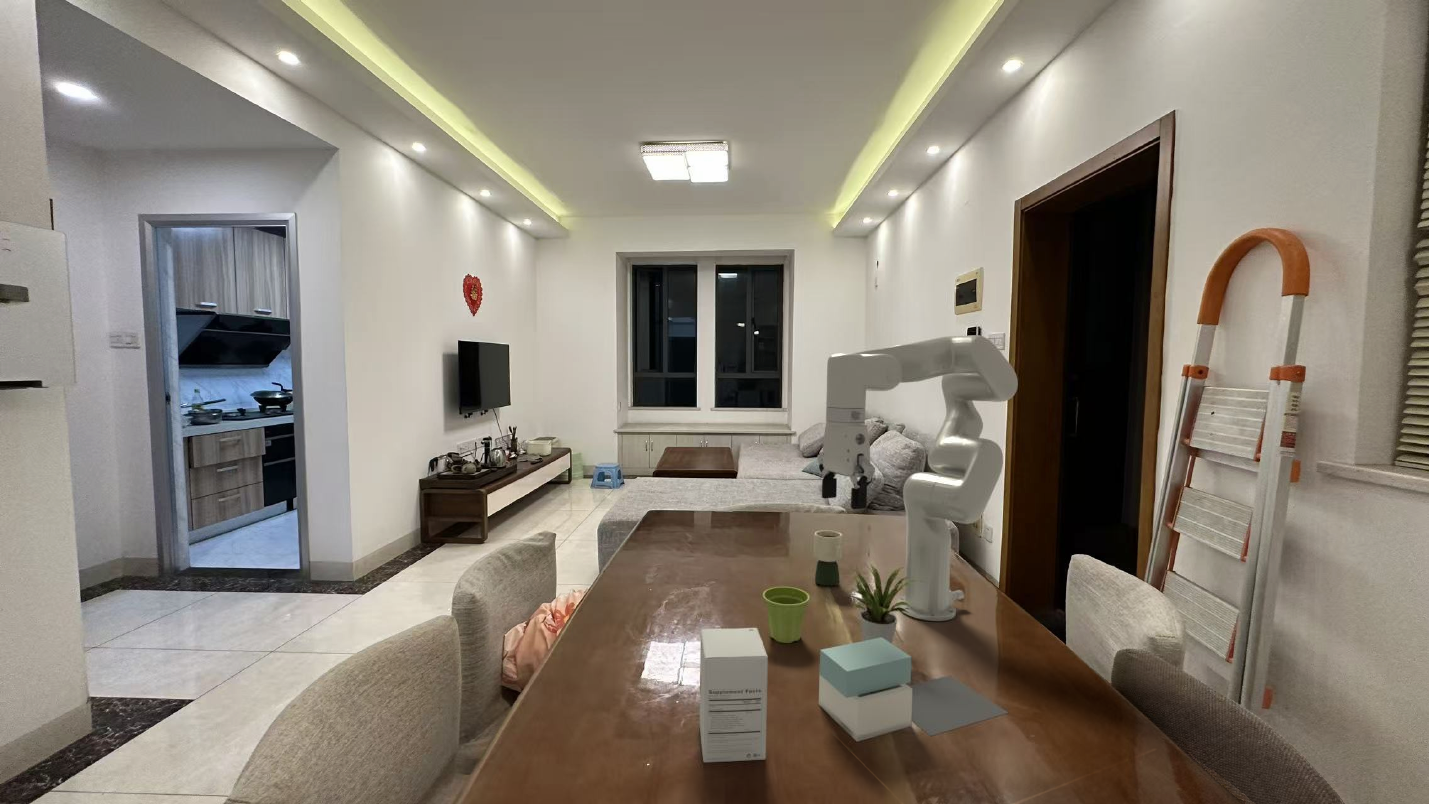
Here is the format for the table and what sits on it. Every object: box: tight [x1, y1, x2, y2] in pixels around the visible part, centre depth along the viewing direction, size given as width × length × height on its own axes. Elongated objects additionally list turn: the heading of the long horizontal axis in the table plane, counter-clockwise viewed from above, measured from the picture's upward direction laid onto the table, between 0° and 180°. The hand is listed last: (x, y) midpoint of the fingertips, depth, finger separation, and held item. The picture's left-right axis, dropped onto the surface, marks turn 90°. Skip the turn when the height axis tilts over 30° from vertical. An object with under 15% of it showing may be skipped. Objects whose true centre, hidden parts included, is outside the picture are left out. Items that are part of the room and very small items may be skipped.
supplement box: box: [699, 627, 769, 763], centre depth 82 cm, size 9×9×15 cm
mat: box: [908, 675, 1009, 737], centre depth 92 cm, size 16×12×1 cm
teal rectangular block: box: [819, 637, 912, 698], centre depth 88 cm, size 12×7×4 cm, turn 113°
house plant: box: [850, 563, 924, 644], centre depth 111 cm, size 14×14×16 cm
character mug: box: [813, 530, 843, 587], centre depth 145 cm, size 11×7×13 cm, turn 20°
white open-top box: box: [818, 674, 912, 742], centre depth 89 cm, size 10×10×6 cm
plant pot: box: [762, 586, 810, 644], centre depth 115 cm, size 9×9×9 cm
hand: (843, 502), depth 112 cm, fingers open, 9 cm apart
